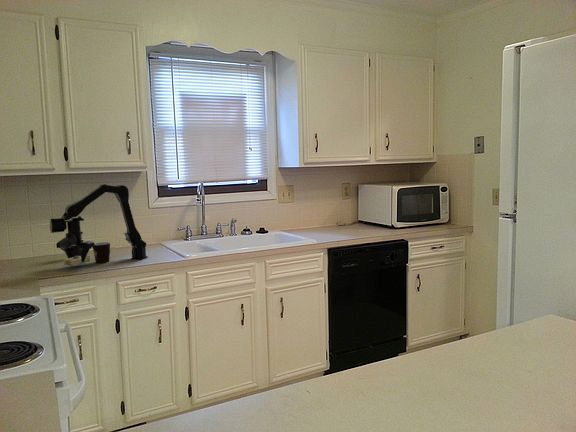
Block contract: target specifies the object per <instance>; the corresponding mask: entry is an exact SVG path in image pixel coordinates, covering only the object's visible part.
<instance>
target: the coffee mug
mask: <svg viewBox="0 0 576 432" xmlns="http://www.w3.org/2000/svg"><path fill="white" fill-rule="evenodd" d="M94 243H95V247H92V250H93V255H94V261H95V264H107V263H109V262H110V258H111V257H110V255H111V242H109V241H101V242H100V241H99V242H94Z"/></svg>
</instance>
